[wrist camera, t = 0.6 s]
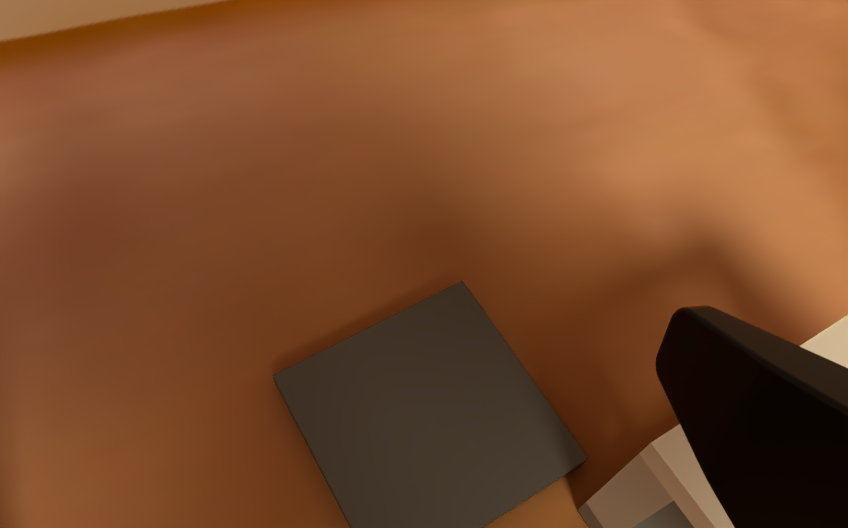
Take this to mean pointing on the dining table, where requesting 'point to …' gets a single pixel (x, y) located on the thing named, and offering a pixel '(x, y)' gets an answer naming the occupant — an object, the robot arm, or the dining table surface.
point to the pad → (428, 419)
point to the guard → (679, 472)
